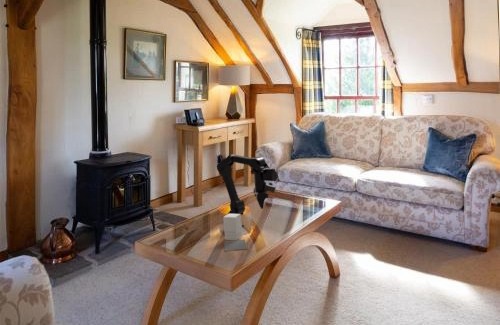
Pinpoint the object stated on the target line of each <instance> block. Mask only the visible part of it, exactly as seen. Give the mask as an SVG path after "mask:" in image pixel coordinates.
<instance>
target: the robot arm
mask: <svg viewBox="0 0 500 325" xmlns="http://www.w3.org/2000/svg"><path fill="white" fill-rule="evenodd" d="M234 163H237V164H242V165H247V166H249V168H252V169H251V170H250V173H253V176H254V177H253V178H254V179H253V180H254V182H253V184H254V188H253V189H252V190H253V194H254V196H255V199H256V201H257V204H258V206H259V208H260V209H261V210H263V209H264V204H265V201H266V199H269V193H267V192H271V193H273V194H274V193H275V191H276V190H277V188H276V186H275V185H273V183H272V182H276V181H277V180H278V177H279V176H278V172H277V171H276V169H275V168H270V167H269V164H267V163H268V162H266V160H265V158H264V157H262V156H261V157H249V156H244V155H238V154H236V153H235V154H229V155H227V156H226V158H224V159H223V160H221V161H220V162H218V163H217V164H216V170H217V172H218V174H219V175H220V176H221V178H222V179H223V181H224V185H225V188H226V191H227V194H228V197H229V199H230V202H229V209H230V210H229V211H228V212H227V214H241V216H243V215H244V212H245V210H246V204H245V202H244V200H243V199H240V198H239V195H238V191H237V188H236V186H235V183H234V180H233V176H232V170H233V169H232V167H233V165H235V164H234ZM267 182H268V183H267ZM244 226H245V224H242V227H244Z"/></svg>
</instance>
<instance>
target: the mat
mask: <svg viewBox="0 0 500 325" xmlns="http://www.w3.org/2000/svg"><path fill="white" fill-rule="evenodd" d="M223 249H224V252H234V251H242V250H243V251H244V250H248V247H247V242H246V240H245V239H238V240H225V241H223Z"/></svg>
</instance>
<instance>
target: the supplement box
mask: <svg viewBox="0 0 500 325" xmlns="http://www.w3.org/2000/svg"><path fill="white" fill-rule="evenodd" d="M222 219H223V220H222V221H223V227H224V228H223V230H224V239H225V241H236V240H241V238H243V226H242V225H243V224H242V215H241V214H228V213H227V214H225V215H224V216H223V217H222Z"/></svg>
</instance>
